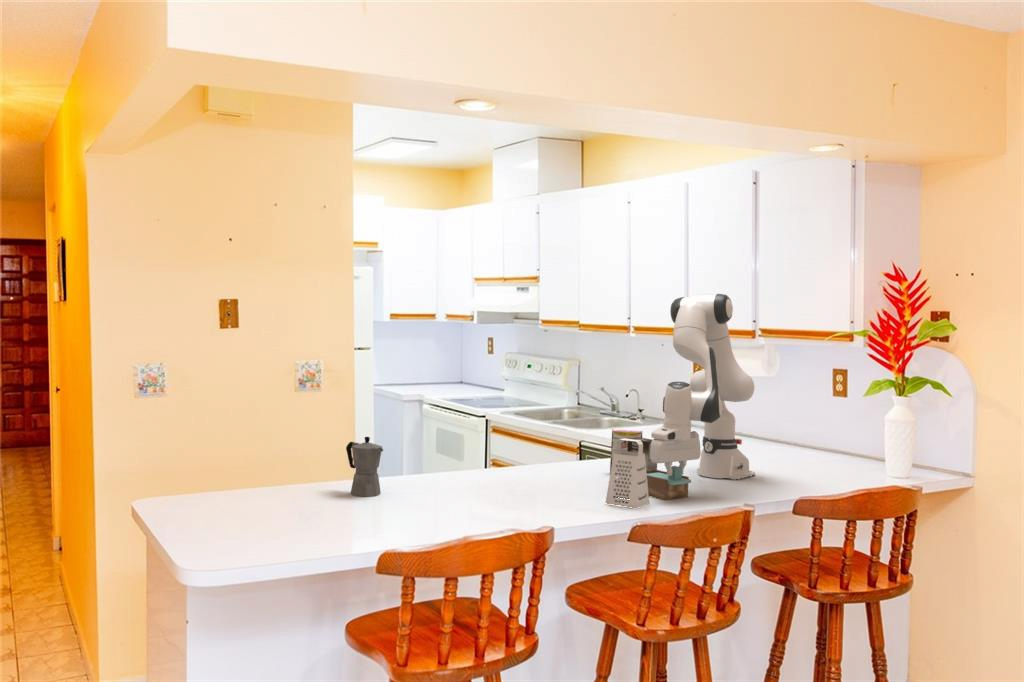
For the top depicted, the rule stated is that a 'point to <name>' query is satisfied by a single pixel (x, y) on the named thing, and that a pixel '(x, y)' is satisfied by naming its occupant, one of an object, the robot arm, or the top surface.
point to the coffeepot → (365, 468)
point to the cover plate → (672, 482)
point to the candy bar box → (622, 434)
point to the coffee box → (634, 447)
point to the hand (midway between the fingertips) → (675, 474)
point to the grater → (628, 477)
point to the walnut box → (665, 487)
